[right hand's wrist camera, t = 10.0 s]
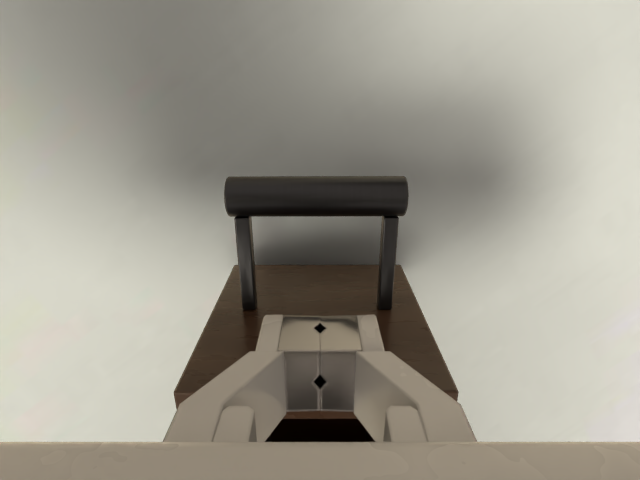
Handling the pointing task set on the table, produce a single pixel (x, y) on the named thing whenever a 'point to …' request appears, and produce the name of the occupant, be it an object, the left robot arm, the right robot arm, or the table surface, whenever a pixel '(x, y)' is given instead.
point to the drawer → (315, 291)
